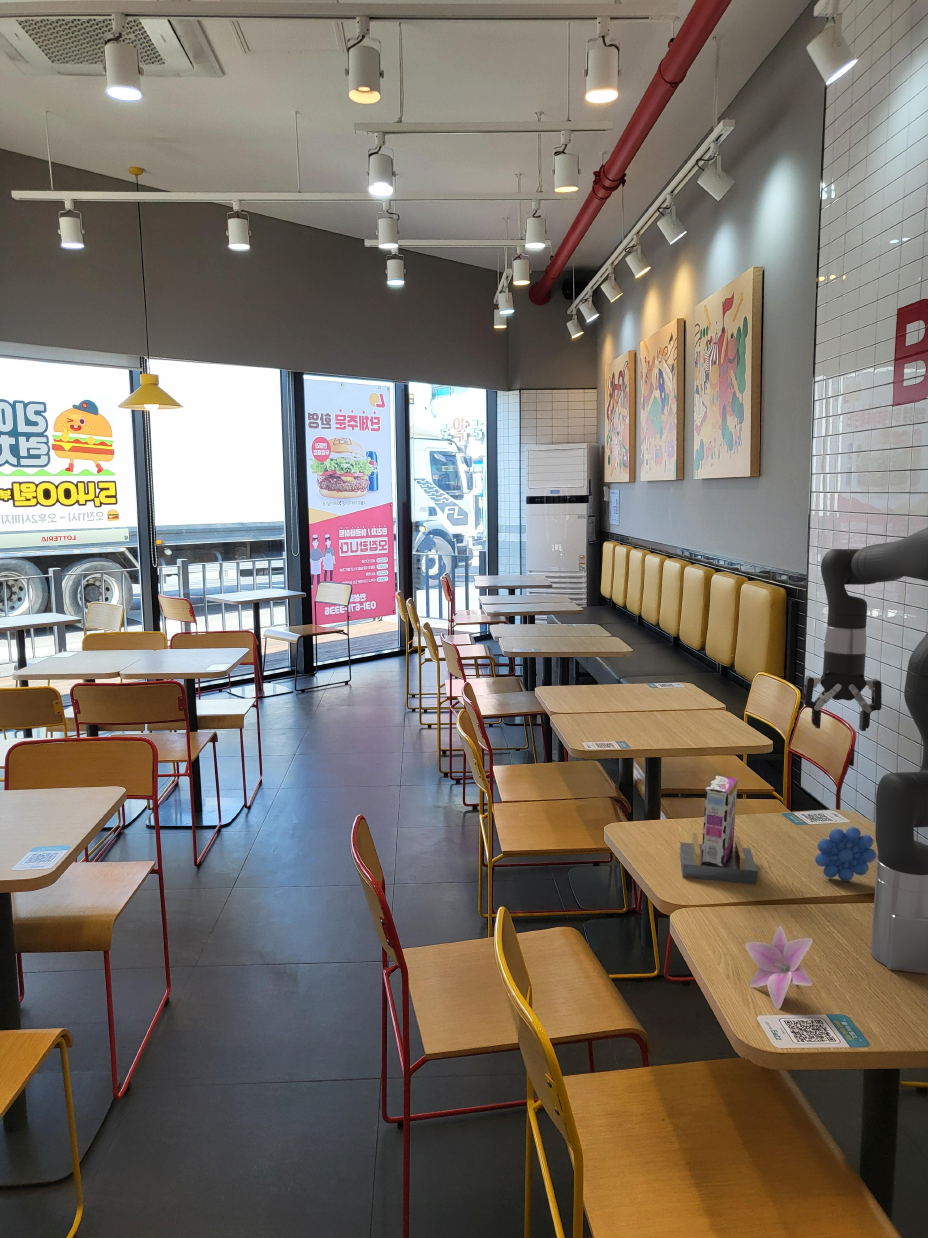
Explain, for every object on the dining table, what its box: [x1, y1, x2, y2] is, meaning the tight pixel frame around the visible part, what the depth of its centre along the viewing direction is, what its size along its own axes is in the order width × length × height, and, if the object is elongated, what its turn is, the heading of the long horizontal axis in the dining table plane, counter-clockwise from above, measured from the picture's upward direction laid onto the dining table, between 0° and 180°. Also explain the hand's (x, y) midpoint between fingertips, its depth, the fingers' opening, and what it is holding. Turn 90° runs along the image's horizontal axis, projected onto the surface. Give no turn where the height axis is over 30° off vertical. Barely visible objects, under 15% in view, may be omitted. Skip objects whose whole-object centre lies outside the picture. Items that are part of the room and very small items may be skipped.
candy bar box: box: [701, 775, 738, 867], centre depth 178 cm, size 11×5×16 cm, turn 152°
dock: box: [679, 832, 758, 885], centre depth 179 cm, size 12×15×6 cm
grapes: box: [814, 826, 878, 882], centre depth 174 cm, size 12×7×12 cm, turn 69°
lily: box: [745, 925, 813, 1010], centre depth 133 cm, size 12×12×10 cm
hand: (839, 729), depth 166 cm, fingers open, 8 cm apart
